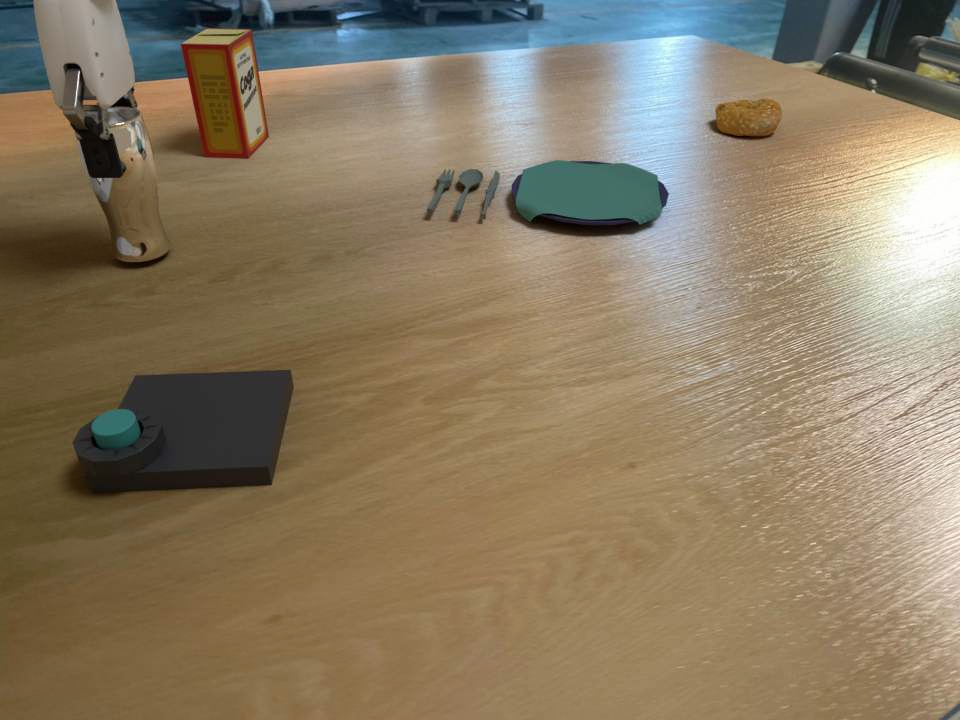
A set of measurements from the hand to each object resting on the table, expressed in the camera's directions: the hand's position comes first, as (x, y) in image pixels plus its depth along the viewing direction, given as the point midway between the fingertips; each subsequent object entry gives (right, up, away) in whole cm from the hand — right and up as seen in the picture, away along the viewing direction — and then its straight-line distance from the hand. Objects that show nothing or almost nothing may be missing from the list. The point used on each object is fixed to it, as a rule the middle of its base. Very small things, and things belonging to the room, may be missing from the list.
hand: (119, 162), depth 79 cm
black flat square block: (+15, -27, -19) cm, 36 cm away
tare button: (+11, -26, -24) cm, 37 cm away
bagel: (+80, +16, +42) cm, 92 cm away
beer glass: (0, -9, +6) cm, 10 cm away
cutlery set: (+47, 0, +19) cm, 50 cm away
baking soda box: (+1, +11, +35) cm, 37 cm away
